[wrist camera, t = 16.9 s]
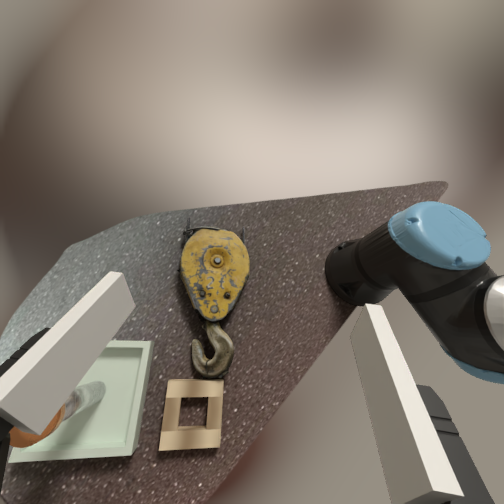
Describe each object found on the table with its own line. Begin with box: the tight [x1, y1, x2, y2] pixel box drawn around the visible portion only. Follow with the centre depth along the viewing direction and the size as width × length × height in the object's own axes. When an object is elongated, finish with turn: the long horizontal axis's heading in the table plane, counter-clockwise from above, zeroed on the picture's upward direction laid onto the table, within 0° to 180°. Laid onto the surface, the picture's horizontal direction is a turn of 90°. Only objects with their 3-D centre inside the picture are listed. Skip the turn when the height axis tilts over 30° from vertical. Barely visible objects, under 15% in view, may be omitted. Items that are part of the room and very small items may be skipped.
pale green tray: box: [8, 340, 155, 463], centre depth 35 cm, size 15×15×3 cm
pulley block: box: [178, 218, 249, 379], centre depth 43 cm, size 14×6×30 cm
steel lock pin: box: [9, 381, 106, 448], centre depth 29 cm, size 4×4×14 cm
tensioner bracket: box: [159, 379, 224, 451], centre depth 37 cm, size 9×9×2 cm
